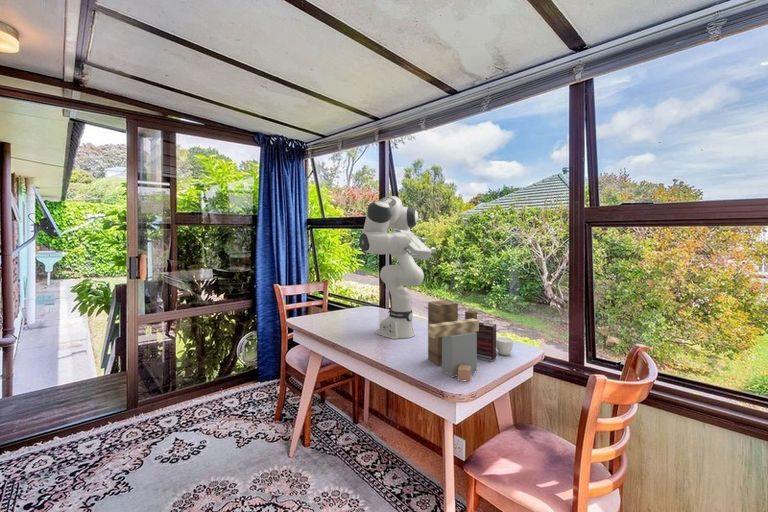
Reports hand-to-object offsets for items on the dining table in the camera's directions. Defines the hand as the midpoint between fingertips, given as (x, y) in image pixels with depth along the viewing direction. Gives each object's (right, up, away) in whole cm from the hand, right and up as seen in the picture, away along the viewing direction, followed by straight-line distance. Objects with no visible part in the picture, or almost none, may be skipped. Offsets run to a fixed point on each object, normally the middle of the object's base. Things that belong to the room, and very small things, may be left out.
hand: (430, 245), depth 137 cm
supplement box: (+26, -51, +12) cm, 59 cm away
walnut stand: (+7, -51, +9) cm, 52 cm away
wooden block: (+22, -50, +25) cm, 60 cm away
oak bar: (+9, -36, -4) cm, 37 cm away
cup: (+38, -50, +18) cm, 66 cm away
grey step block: (+12, -52, -2) cm, 53 cm away
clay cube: (+12, -52, -9) cm, 54 cm away
